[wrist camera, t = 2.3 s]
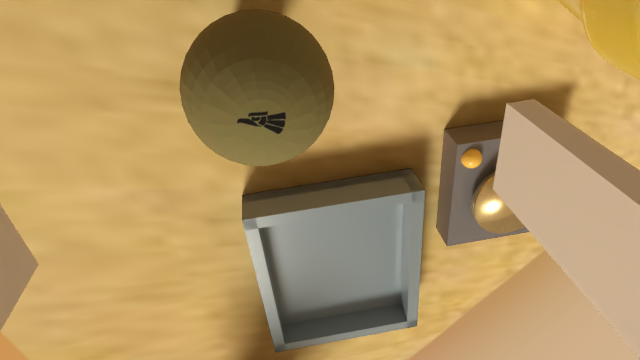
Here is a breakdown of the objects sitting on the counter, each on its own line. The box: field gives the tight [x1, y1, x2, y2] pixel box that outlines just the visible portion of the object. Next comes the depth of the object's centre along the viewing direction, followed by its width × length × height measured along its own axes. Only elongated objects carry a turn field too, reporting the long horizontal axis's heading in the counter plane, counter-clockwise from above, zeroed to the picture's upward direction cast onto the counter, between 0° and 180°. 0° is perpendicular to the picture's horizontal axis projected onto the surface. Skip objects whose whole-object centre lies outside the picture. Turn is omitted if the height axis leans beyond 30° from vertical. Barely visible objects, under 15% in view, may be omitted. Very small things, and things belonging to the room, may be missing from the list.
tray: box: [242, 168, 425, 352], centre depth 30 cm, size 13×11×2 cm
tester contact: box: [471, 171, 525, 233], centre depth 26 cm, size 5×5×1 cm
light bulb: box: [180, 10, 334, 166], centre depth 18 cm, size 6×6×10 cm
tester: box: [436, 120, 529, 246], centre depth 28 cm, size 8×7×3 cm
